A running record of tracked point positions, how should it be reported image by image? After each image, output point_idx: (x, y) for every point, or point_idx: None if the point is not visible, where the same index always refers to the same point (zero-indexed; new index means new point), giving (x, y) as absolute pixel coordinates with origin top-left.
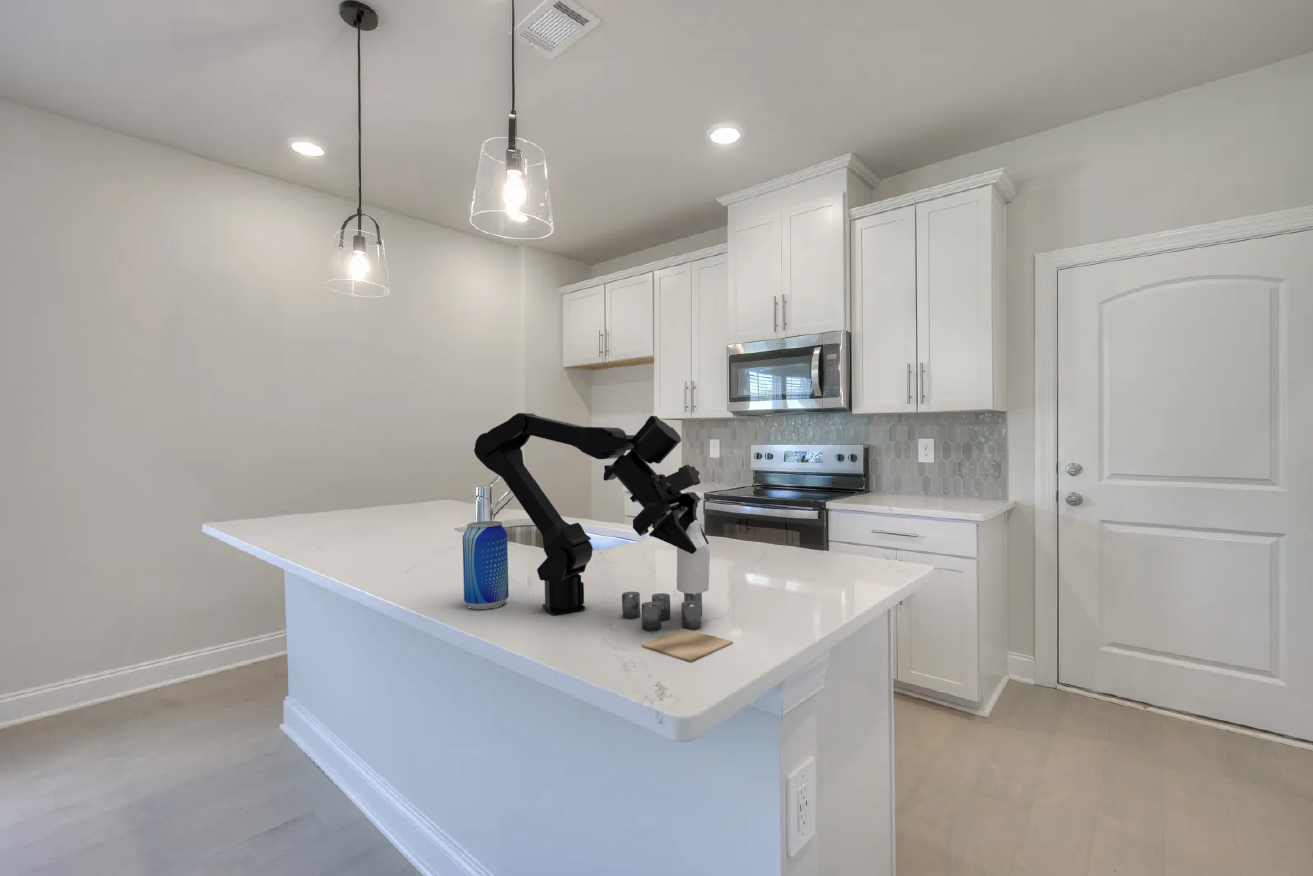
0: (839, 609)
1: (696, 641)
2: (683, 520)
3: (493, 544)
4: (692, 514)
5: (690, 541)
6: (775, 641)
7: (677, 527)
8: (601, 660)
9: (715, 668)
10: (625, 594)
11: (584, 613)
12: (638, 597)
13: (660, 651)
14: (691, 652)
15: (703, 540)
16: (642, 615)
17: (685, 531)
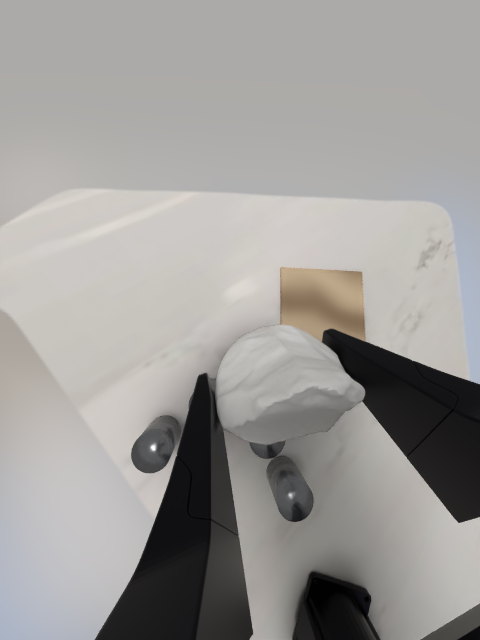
0: (40, 216)
1: (311, 304)
2: (231, 588)
3: None
4: (207, 563)
5: (361, 342)
6: (239, 229)
7: (473, 385)
8: (423, 360)
9: (354, 242)
10: (305, 506)
11: (321, 555)
12: (288, 478)
13: (363, 320)
14: (344, 286)
15: (282, 338)
16: None
17: (231, 505)
